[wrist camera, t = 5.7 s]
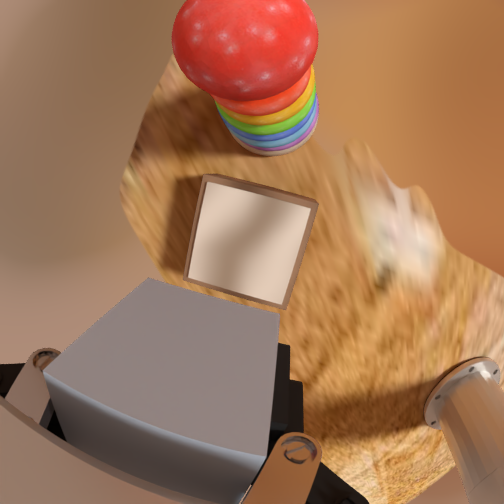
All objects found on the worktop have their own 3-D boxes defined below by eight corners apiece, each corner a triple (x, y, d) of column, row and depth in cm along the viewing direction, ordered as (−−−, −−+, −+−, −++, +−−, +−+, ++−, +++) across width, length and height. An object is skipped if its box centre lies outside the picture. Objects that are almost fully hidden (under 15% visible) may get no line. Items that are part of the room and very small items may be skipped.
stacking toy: (211, 131, 25) (66, 72, 7) (255, 59, 22) (191, -86, 4) (288, 173, 25) (277, 170, 7) (333, 99, 22) (402, -27, 5)
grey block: (280, 314, 10) (266, 456, 4) (249, 406, 12) (225, 524, 6) (148, 277, 10) (42, 370, 5) (143, 374, 12) (80, 470, 6)
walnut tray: (314, 199, 25) (319, 204, 21) (287, 291, 28) (285, 311, 24) (216, 173, 26) (202, 174, 22) (197, 265, 28) (181, 281, 24)
